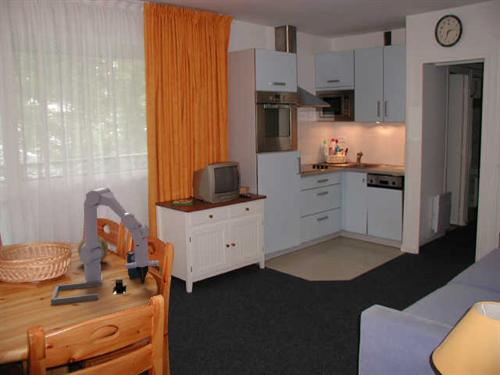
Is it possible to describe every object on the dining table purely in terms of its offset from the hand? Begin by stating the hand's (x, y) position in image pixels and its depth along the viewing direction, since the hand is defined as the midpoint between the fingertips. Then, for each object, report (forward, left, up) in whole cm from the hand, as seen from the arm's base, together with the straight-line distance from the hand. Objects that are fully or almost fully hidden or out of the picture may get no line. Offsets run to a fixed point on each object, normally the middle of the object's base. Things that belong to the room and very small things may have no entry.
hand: (143, 282), depth 215 cm
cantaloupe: (-43, -23, -2) cm, 49 cm away
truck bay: (0, -28, -2) cm, 28 cm away
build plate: (0, -10, -3) cm, 10 cm away
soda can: (-15, -3, -2) cm, 15 cm away
